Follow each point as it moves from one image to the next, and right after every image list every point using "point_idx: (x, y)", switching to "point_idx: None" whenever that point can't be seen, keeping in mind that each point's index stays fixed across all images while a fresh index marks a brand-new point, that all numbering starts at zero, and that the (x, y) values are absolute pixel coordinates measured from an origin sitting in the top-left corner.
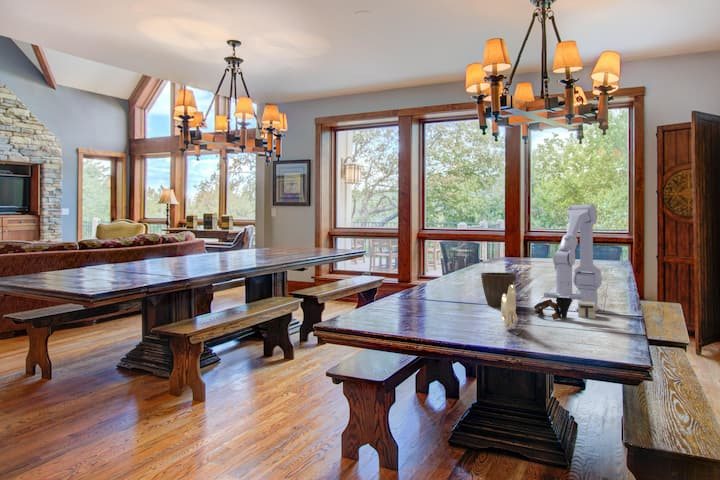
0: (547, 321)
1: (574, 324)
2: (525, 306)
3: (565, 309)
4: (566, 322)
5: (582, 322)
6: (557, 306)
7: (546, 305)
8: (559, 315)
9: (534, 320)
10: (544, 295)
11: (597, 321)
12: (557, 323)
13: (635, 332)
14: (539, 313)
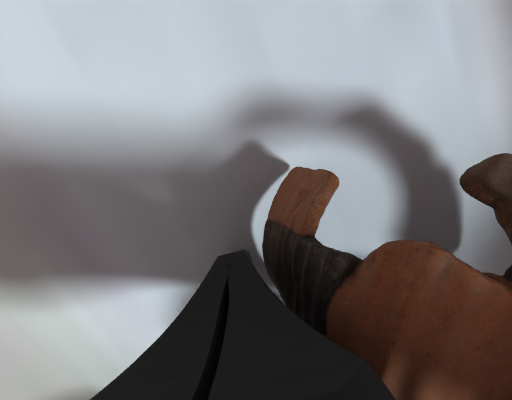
0: (323, 66)
1: (17, 100)
2: None
3: (189, 311)
4: (153, 162)
5: (64, 273)
6: None
7: (508, 228)
8: (274, 255)
9: (462, 16)
10: None
11: (34, 391)
12: (175, 11)
13: None
14: (499, 276)
